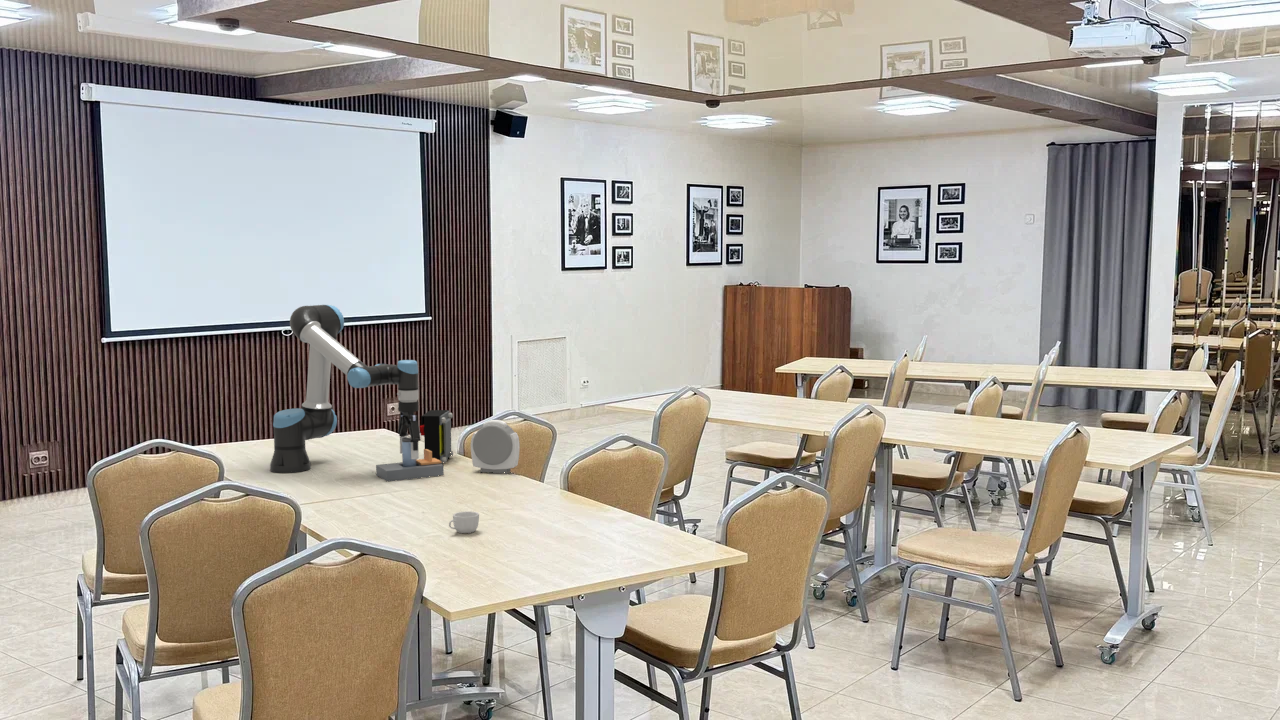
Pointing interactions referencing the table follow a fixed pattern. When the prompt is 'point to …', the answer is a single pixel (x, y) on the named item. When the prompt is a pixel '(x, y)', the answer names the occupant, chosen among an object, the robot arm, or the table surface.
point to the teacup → (465, 521)
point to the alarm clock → (495, 447)
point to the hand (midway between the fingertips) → (409, 456)
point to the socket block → (407, 471)
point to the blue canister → (407, 453)
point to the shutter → (428, 458)
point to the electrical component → (437, 433)
